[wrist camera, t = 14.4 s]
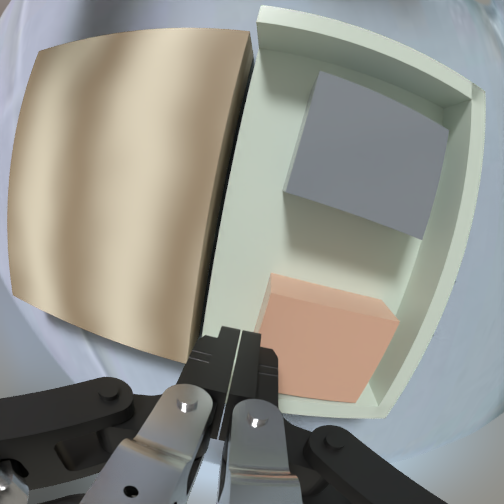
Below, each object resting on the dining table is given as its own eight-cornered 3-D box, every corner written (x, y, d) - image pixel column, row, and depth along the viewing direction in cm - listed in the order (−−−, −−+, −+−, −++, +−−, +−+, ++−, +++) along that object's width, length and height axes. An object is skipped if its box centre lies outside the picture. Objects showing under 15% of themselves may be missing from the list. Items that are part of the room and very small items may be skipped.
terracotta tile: (381, 299, 13) (399, 321, 11) (346, 374, 14) (355, 402, 12) (270, 272, 13) (270, 292, 11) (245, 356, 14) (241, 385, 12)
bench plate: (253, 56, 13) (249, 31, 10) (198, 336, 17) (186, 364, 14) (63, 62, 13) (38, 51, 10) (37, 281, 17) (12, 295, 14)
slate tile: (422, 136, 11) (449, 130, 9) (397, 229, 12) (422, 240, 10) (310, 90, 11) (319, 70, 9) (282, 190, 12) (285, 192, 10)
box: (438, 107, 12) (485, 91, 8) (364, 370, 17) (385, 418, 12) (264, 50, 12) (261, 5, 8) (205, 344, 17) (186, 394, 12)
